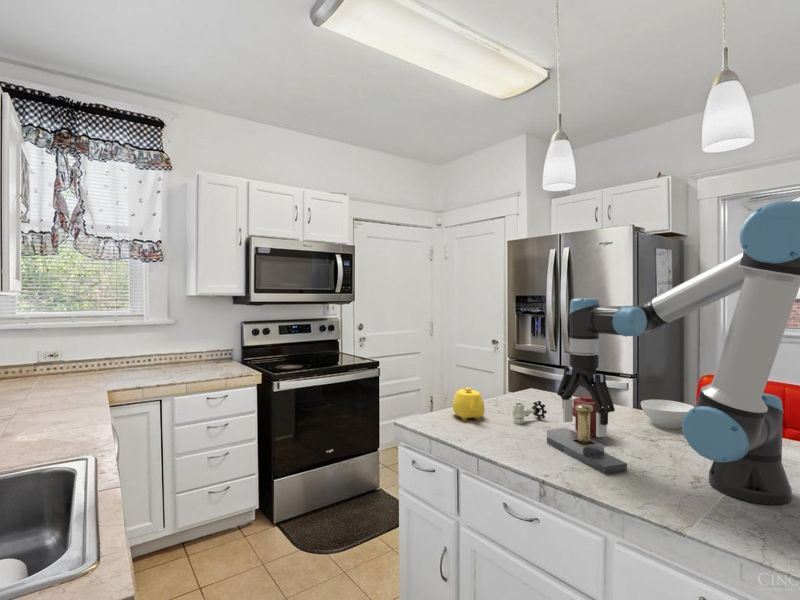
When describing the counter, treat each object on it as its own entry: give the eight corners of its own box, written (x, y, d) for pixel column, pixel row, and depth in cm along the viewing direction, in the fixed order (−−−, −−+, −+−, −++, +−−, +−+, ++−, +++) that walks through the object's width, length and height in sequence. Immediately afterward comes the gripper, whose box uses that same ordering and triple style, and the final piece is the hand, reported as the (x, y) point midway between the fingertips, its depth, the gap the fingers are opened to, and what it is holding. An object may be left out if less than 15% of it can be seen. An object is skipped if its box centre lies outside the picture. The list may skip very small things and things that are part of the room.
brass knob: (596, 458, 122) (596, 407, 122) (582, 460, 121) (582, 408, 121) (584, 452, 127) (585, 403, 126) (571, 454, 125) (571, 404, 125)
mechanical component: (600, 431, 145) (608, 441, 135) (568, 429, 147) (573, 439, 137) (600, 394, 145) (608, 401, 135) (568, 393, 147) (573, 400, 137)
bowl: (697, 436, 140) (697, 414, 140) (640, 428, 148) (640, 407, 148) (693, 422, 154) (693, 402, 153) (641, 416, 162) (641, 397, 161)
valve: (520, 426, 151) (546, 421, 157) (520, 407, 151) (546, 402, 157) (508, 421, 157) (533, 416, 163) (508, 402, 157) (533, 398, 162)
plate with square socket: (627, 471, 113) (627, 455, 113) (604, 474, 111) (604, 458, 111) (566, 440, 136) (566, 427, 136) (546, 443, 134) (546, 430, 134)
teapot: (493, 423, 154) (493, 393, 154) (463, 426, 152) (463, 395, 151) (473, 409, 172) (473, 382, 171) (446, 411, 169) (446, 384, 169)
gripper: (630, 359, 112) (629, 441, 113) (566, 347, 136) (566, 415, 137) (606, 360, 110) (605, 444, 111) (545, 348, 134) (545, 417, 134)
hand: (583, 428), depth 124 cm, fingers open, 13 cm apart
